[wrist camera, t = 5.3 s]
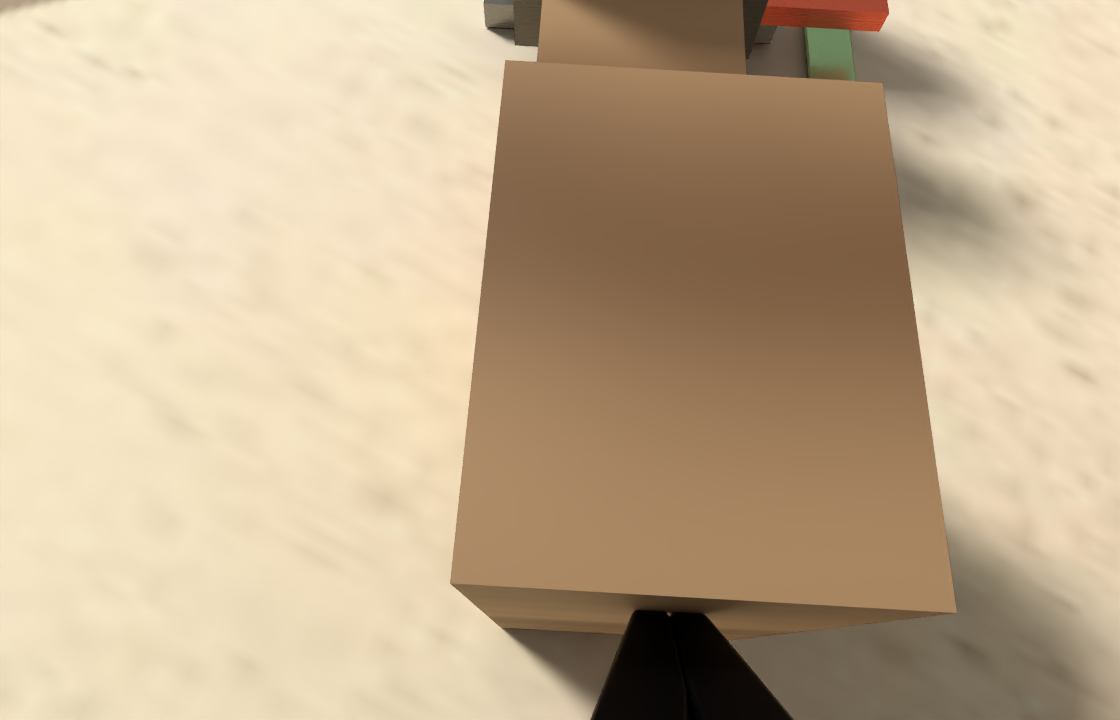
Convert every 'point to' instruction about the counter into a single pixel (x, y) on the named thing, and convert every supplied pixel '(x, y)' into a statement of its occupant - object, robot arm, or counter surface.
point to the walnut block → (694, 343)
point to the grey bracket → (750, 17)
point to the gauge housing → (823, 46)
